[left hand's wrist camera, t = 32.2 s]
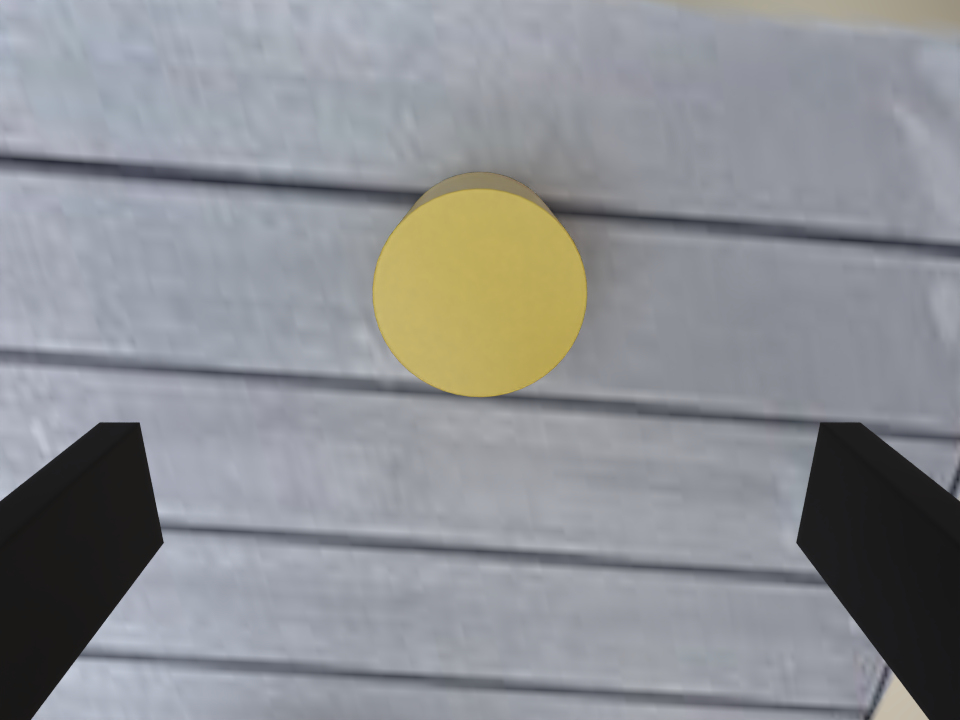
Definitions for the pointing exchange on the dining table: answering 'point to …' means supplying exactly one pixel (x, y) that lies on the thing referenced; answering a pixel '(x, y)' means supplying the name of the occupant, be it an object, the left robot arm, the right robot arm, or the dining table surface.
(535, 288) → the canister
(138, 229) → the dining table surface
